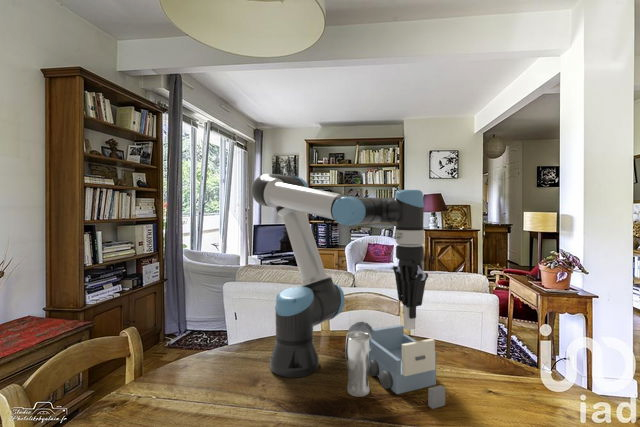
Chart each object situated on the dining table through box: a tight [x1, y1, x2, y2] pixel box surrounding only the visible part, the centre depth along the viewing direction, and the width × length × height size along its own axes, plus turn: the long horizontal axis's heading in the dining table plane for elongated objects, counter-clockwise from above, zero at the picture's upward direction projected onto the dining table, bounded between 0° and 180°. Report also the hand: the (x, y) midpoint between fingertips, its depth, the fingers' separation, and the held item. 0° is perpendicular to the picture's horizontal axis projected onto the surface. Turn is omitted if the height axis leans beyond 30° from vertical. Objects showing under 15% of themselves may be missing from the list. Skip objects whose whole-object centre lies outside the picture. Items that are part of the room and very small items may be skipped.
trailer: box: [368, 324, 446, 410], centre depth 93 cm, size 24×16×12 cm
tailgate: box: [401, 338, 436, 376], centre depth 89 cm, size 2×10×8 cm, turn 111°
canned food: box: [346, 321, 373, 339], centre depth 115 cm, size 11×10×10 cm
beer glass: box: [345, 331, 371, 398], centre depth 89 cm, size 7×7×15 cm
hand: (409, 328), depth 93 cm, fingers closed
